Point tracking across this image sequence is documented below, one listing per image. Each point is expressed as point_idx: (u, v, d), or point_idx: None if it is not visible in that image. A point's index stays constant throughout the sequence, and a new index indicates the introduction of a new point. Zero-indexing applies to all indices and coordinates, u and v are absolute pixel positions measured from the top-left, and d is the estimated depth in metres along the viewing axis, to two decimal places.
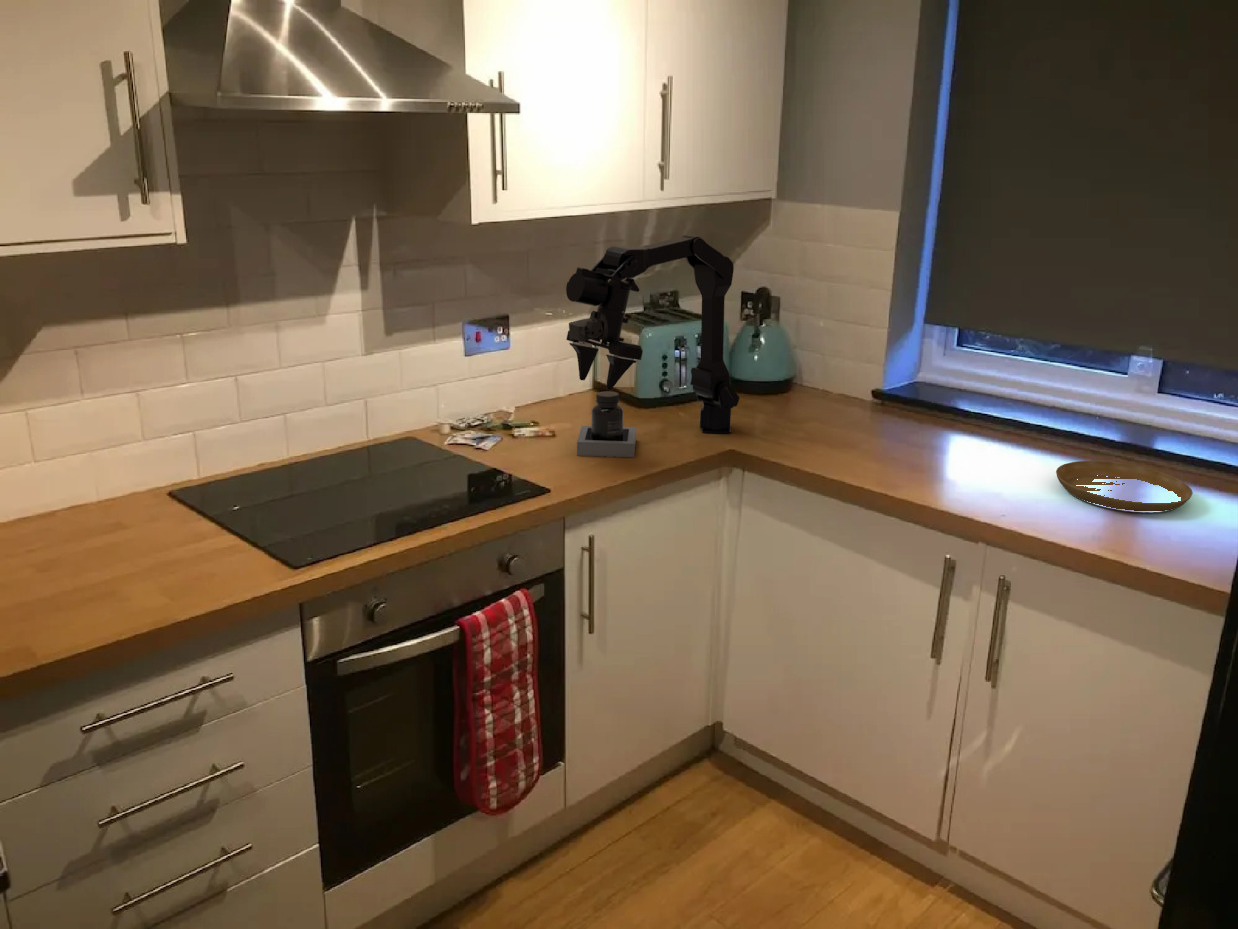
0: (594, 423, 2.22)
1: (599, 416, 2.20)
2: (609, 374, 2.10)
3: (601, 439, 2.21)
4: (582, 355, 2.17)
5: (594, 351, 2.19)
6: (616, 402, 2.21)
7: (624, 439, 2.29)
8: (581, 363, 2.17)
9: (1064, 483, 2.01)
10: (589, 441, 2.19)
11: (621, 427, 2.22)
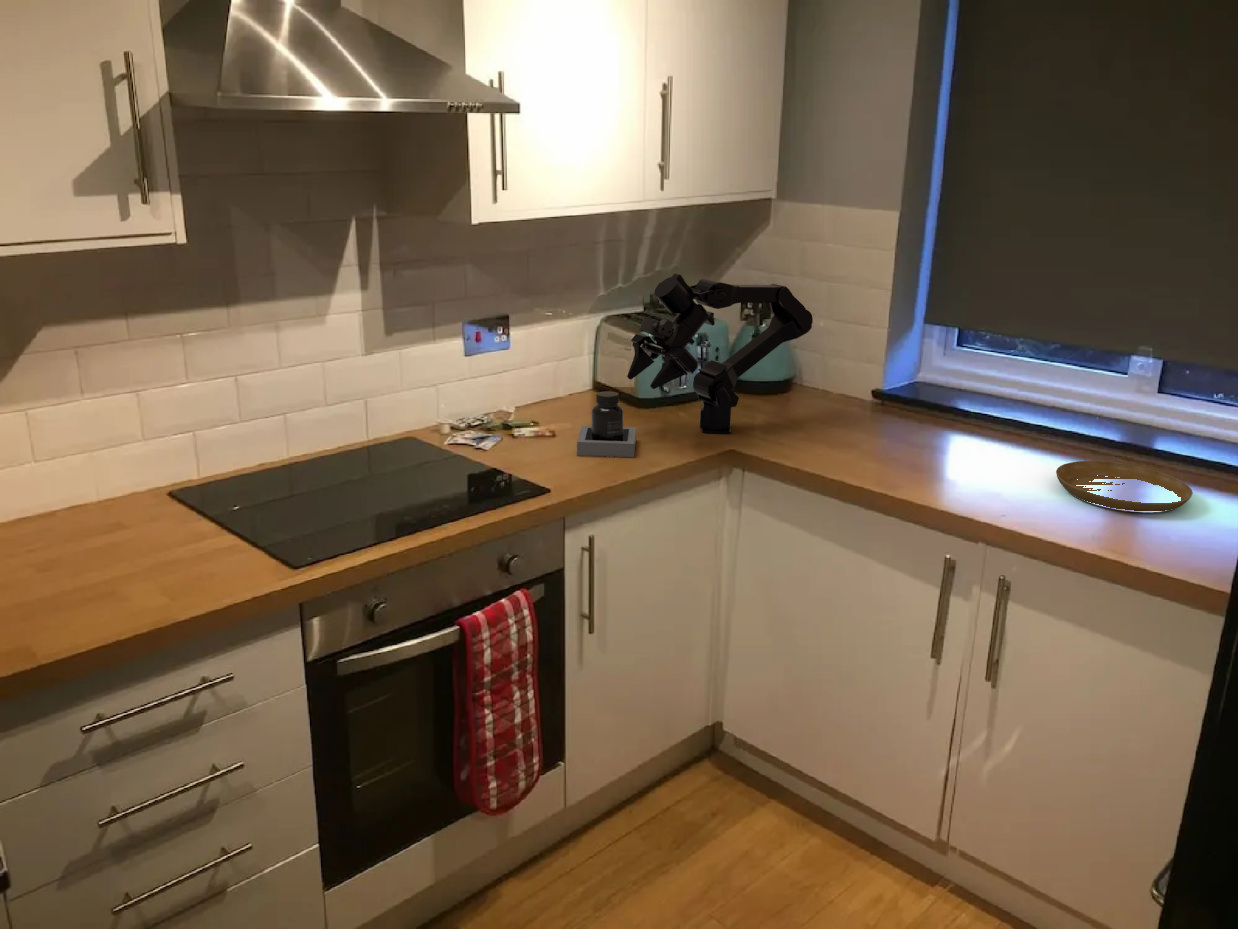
0: (594, 423, 2.22)
1: (599, 416, 2.20)
2: (659, 373, 2.21)
3: (601, 439, 2.21)
4: (639, 357, 2.29)
5: (650, 361, 2.31)
6: (616, 402, 2.21)
7: (624, 439, 2.29)
8: (635, 363, 2.29)
9: (1064, 483, 2.01)
10: (589, 441, 2.19)
11: (621, 427, 2.22)
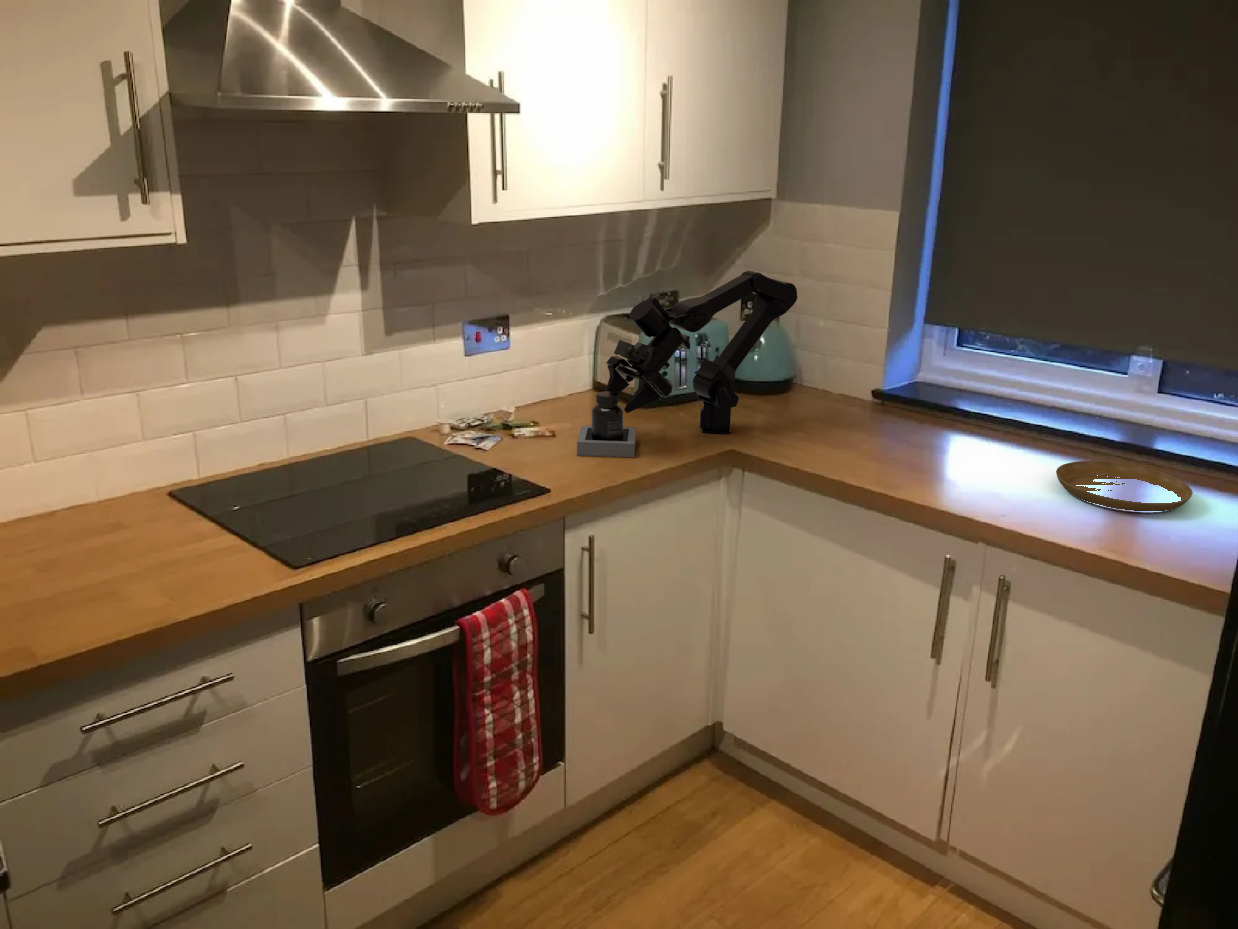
0: (594, 423, 2.22)
1: (599, 416, 2.20)
2: (633, 397, 2.19)
3: (601, 439, 2.21)
4: (614, 380, 2.27)
5: (625, 384, 2.29)
6: (616, 402, 2.21)
7: (624, 439, 2.29)
8: (610, 386, 2.27)
9: (1064, 483, 2.01)
10: (589, 441, 2.19)
11: (621, 427, 2.22)
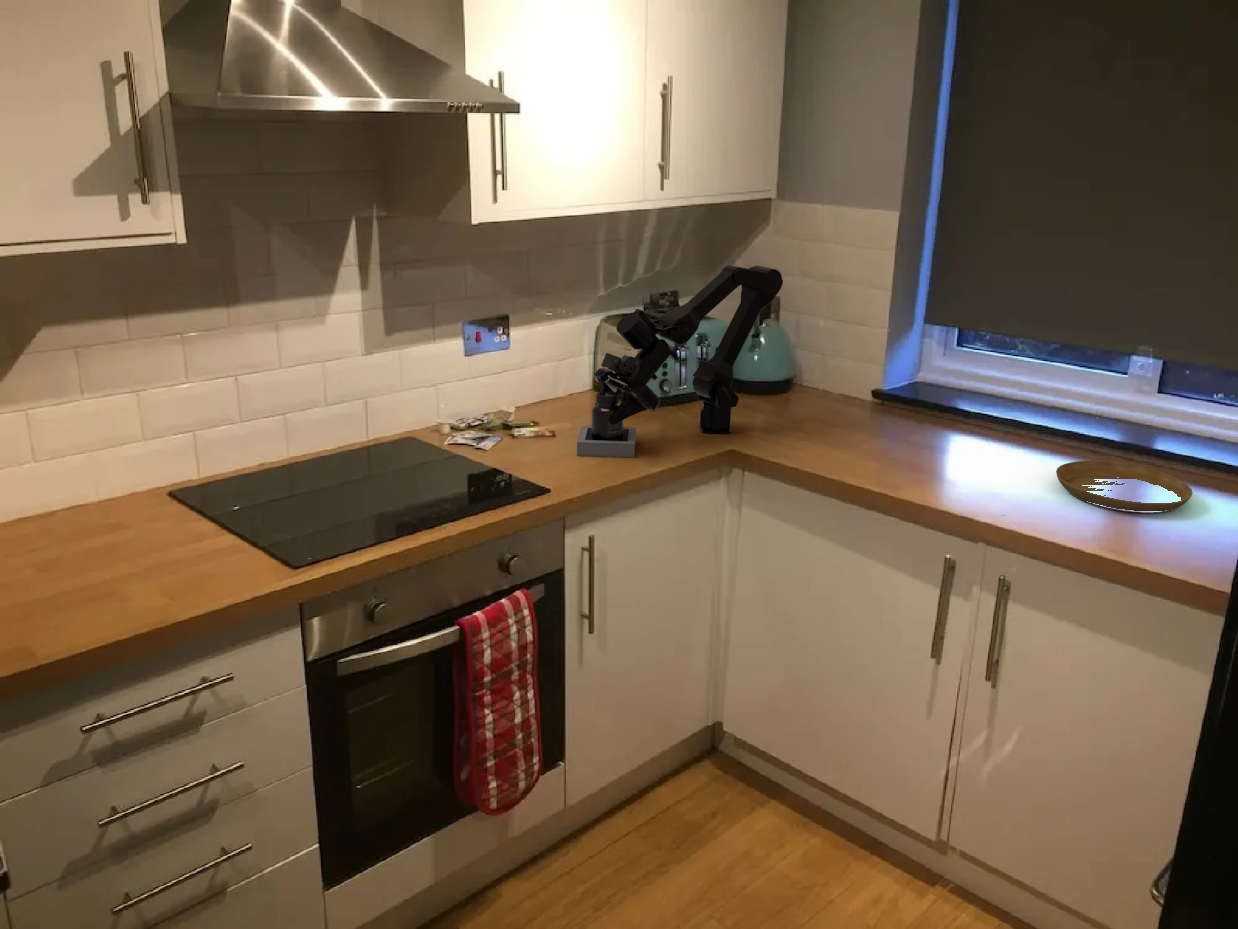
0: (594, 423, 2.22)
1: (599, 416, 2.20)
2: (618, 409, 2.19)
3: (601, 439, 2.21)
4: None
5: None
6: (616, 402, 2.21)
7: (624, 439, 2.29)
8: None
9: (1064, 483, 2.01)
10: (589, 441, 2.19)
11: (621, 427, 2.22)
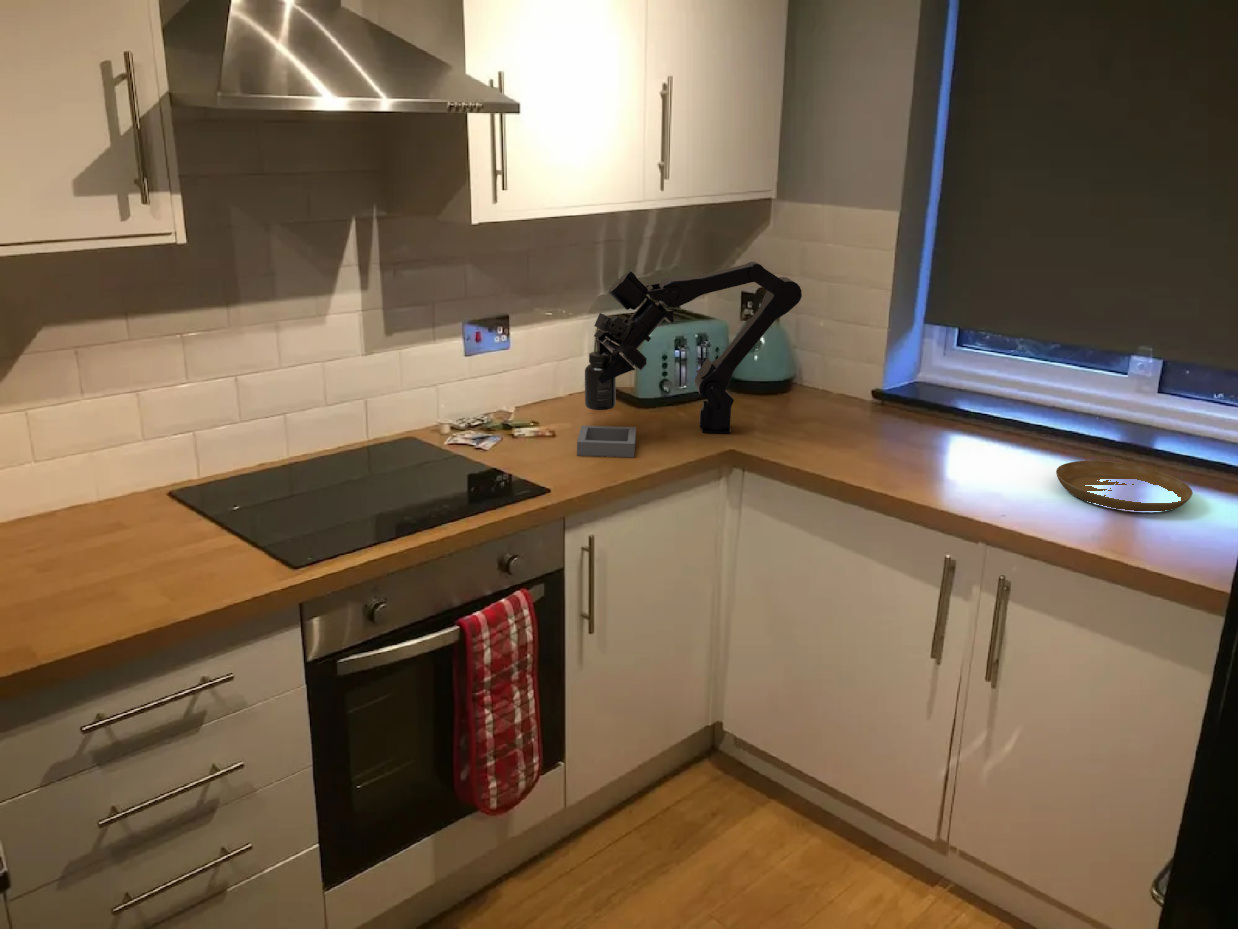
0: (586, 382, 2.29)
1: (590, 375, 2.27)
2: (606, 368, 2.25)
3: (592, 397, 2.28)
4: None
5: None
6: (607, 362, 2.27)
7: (624, 439, 2.29)
8: None
9: (1064, 483, 2.01)
10: (589, 441, 2.19)
11: (612, 386, 2.28)
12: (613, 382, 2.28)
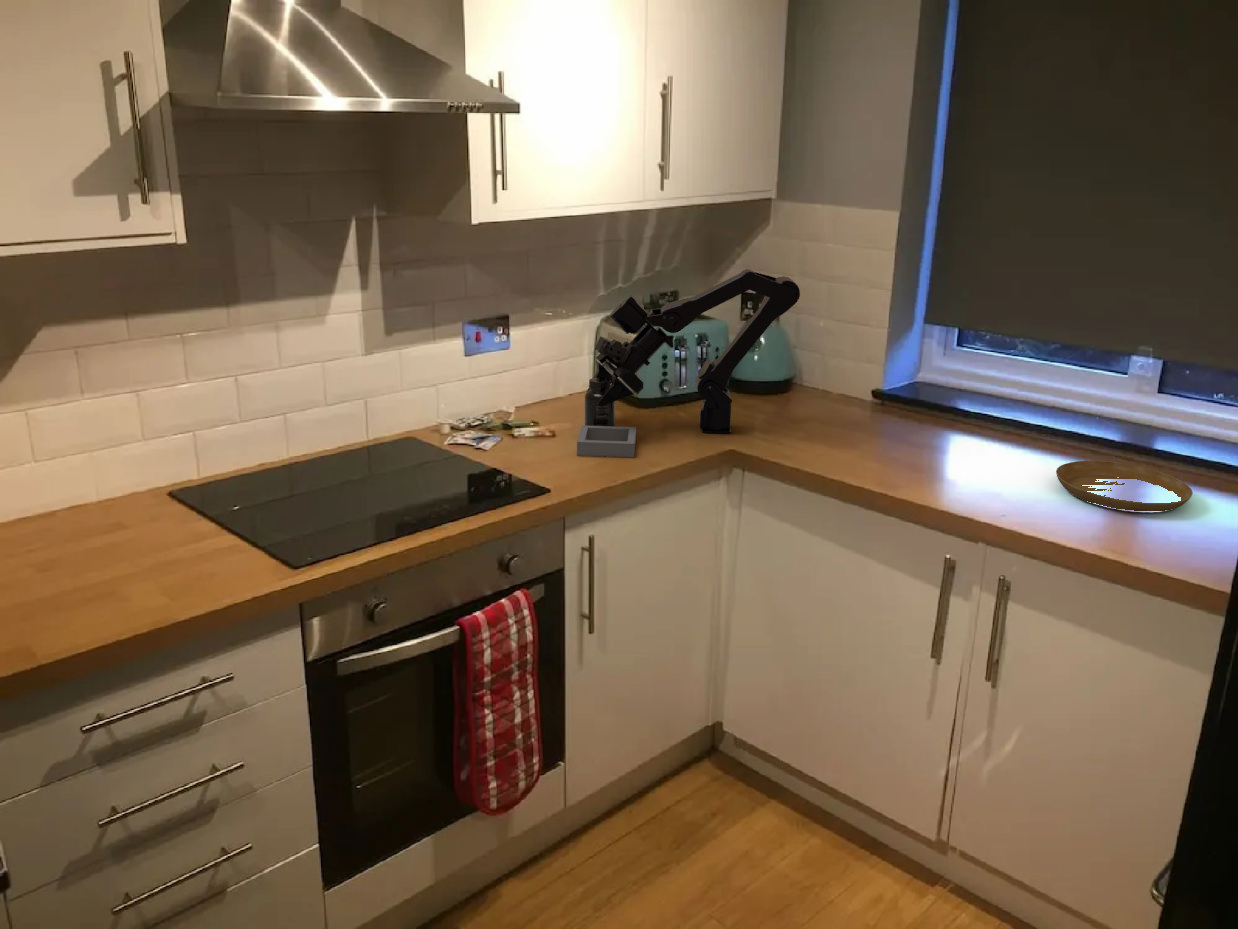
0: (585, 407, 2.34)
1: (589, 400, 2.32)
2: (606, 392, 2.28)
3: (590, 422, 2.33)
4: (599, 375, 2.37)
5: (611, 379, 2.39)
6: (606, 388, 2.31)
7: (624, 439, 2.29)
8: None
9: (1064, 483, 2.01)
10: (589, 441, 2.19)
11: (611, 412, 2.33)
12: (612, 408, 2.33)
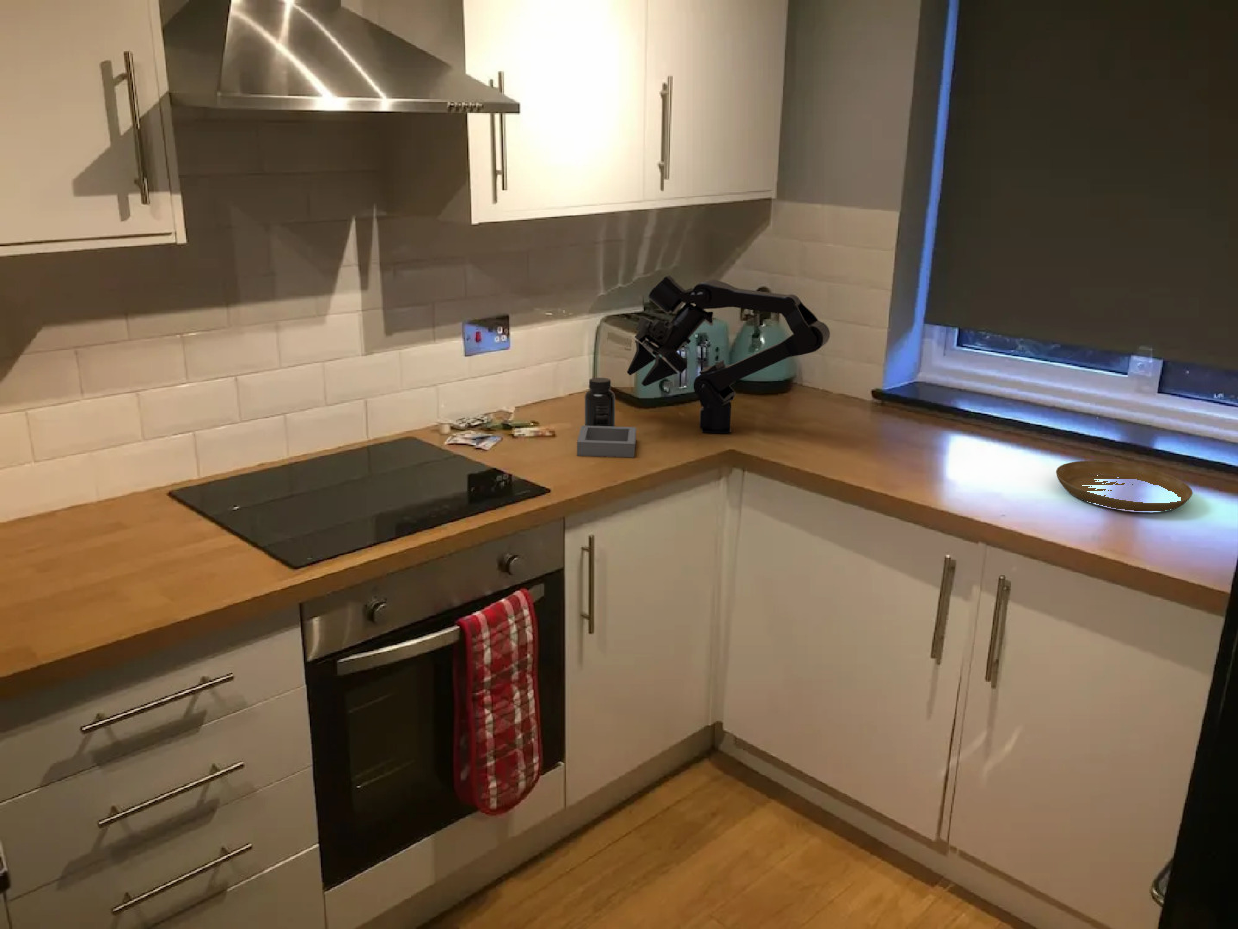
0: (585, 407, 2.33)
1: (589, 400, 2.32)
2: (649, 372, 2.30)
3: (590, 422, 2.33)
4: (639, 354, 2.39)
5: (651, 358, 2.40)
6: (606, 388, 2.31)
7: (624, 439, 2.29)
8: (635, 359, 2.38)
9: (1064, 483, 2.02)
10: (589, 441, 2.19)
11: (611, 412, 2.33)
12: (612, 408, 2.33)
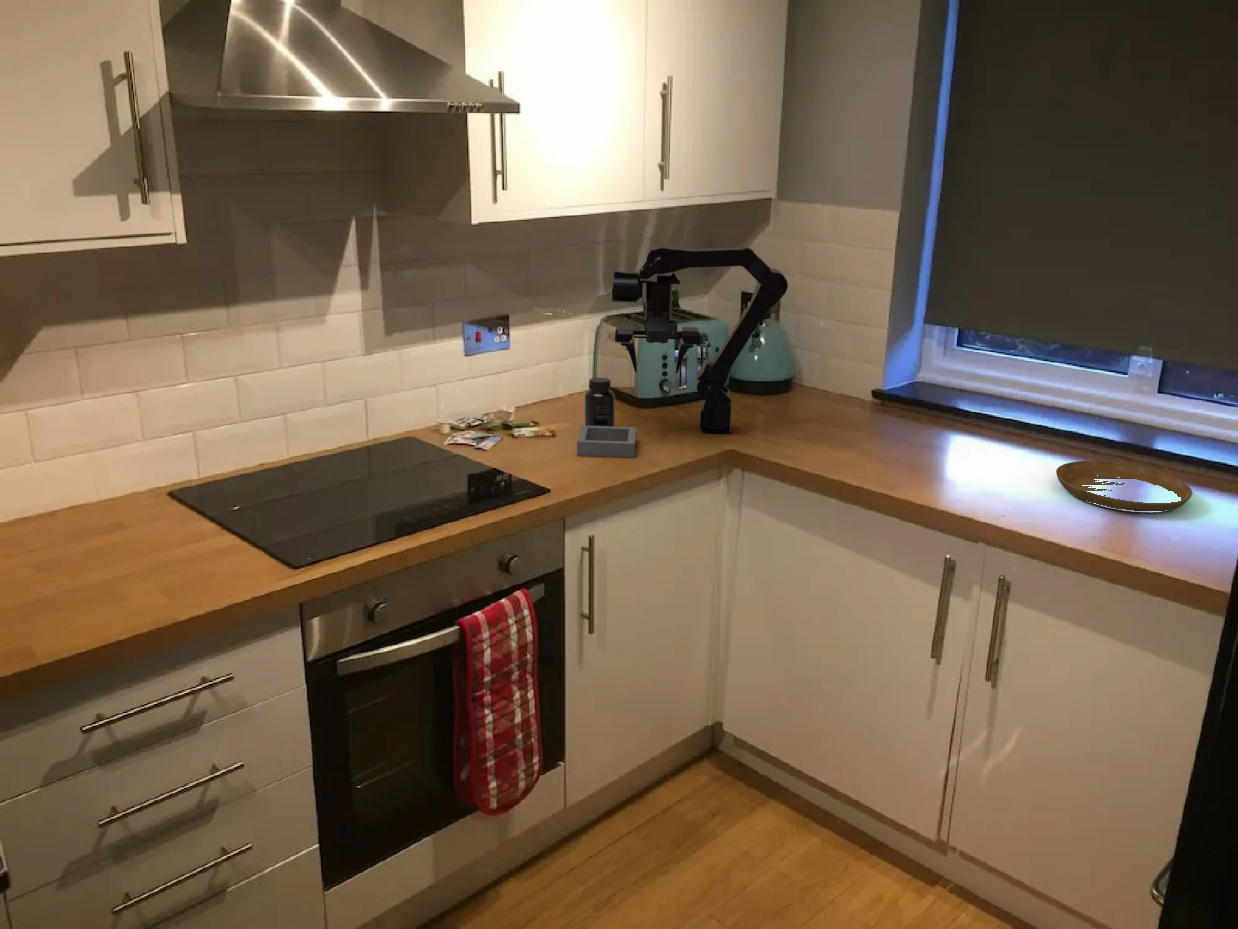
0: (585, 407, 2.33)
1: (589, 400, 2.32)
2: (679, 360, 2.34)
3: (590, 422, 2.33)
4: (634, 350, 2.33)
5: None
6: (606, 388, 2.31)
7: (624, 439, 2.29)
8: (635, 357, 2.34)
9: (1064, 483, 2.02)
10: (589, 441, 2.19)
11: (611, 412, 2.33)
12: (612, 408, 2.33)
